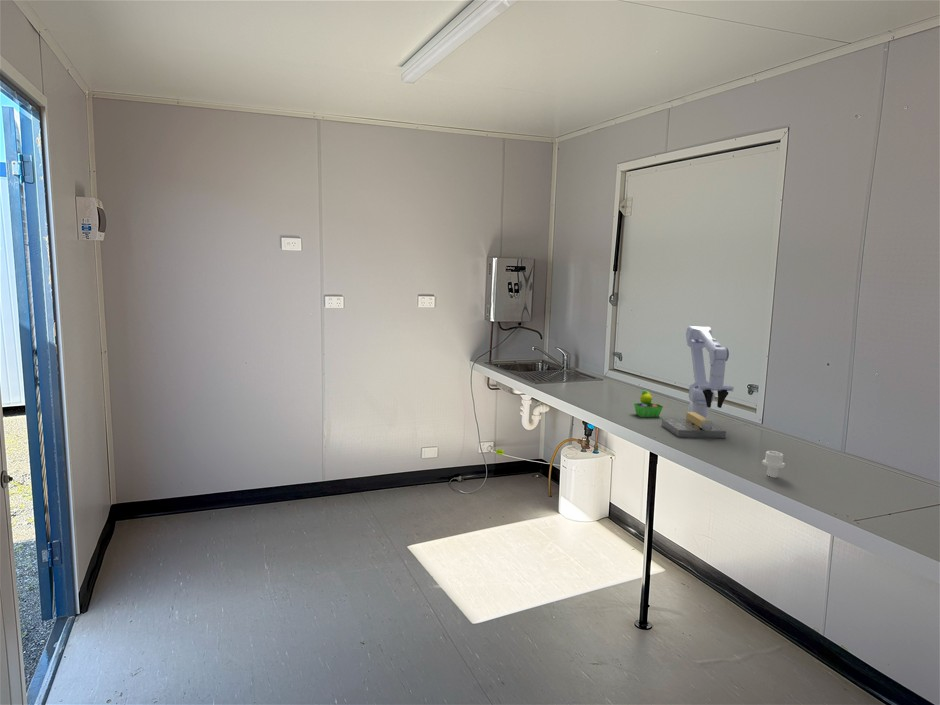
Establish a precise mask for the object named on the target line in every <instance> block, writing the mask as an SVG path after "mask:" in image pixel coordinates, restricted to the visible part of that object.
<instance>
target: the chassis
mask: <svg viewBox="0 0 940 705" xmlns="http://www.w3.org/2000/svg"><path fill="white" fill-rule="evenodd" d="M661 427H663V428H664V429H666V430H667V431H669V432H670V433H671V434H673V435H674V436H676V437H677V438H693V439H695V438H697V439H698V438H701V439H726V437H727V431H726V430H725V429H723V428H721V427H719V426H718V425H716V424H715V423H714V422H712V430H705V429H702V428H700V427H699V426H697V425H696V424H694V423H692V422H691V421H689V420H687V419H686V418H684V419H683V418H682V419H681V418H661Z"/></svg>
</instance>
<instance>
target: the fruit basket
mask: <svg viewBox="0 0 940 705" xmlns="http://www.w3.org/2000/svg"><path fill="white" fill-rule="evenodd" d="M639 398H640V399H639V400H640V402H638V403H637V402H636V403H633V406H634V409H635V414H636V415H637V416H639V417H641V418H655V417H656V418H657V417H660V414H661V412H662V409H663V408H664V406H663V405H661V404H659V403H656V402H652V400H653V396H652V394H651V393H650V391H648V390H646V389H645V390H642V392H641V395H640V397H639Z"/></svg>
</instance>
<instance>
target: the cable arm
mask: <svg viewBox="0 0 940 705" xmlns="http://www.w3.org/2000/svg"><path fill="white" fill-rule="evenodd" d="M685 419H687V420H689V421H691V422H692V423H694V424H696V425H697V426H699V427H700V428H702V429H705V430H712V423H713V421H711V420H710V419H709V418H708V419H706V418H704V417H702V416H701V415H699V414H697V413H695V412H688V411H686V415H685Z"/></svg>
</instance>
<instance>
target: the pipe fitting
mask: <svg viewBox="0 0 940 705" xmlns="http://www.w3.org/2000/svg"><path fill="white" fill-rule="evenodd" d="M783 460H784V454H783V453H782V452H779V451H776V450H767V451H766V452H765V459H763V460H762V461H761V464H762V465H764V466H765V467H767V469H766V470H767V471H766V476H767V475H768V476H767V477H769V476H770V478H777V477H778V475H779V469H783V468H785V466H786V463H784V462H783Z"/></svg>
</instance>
